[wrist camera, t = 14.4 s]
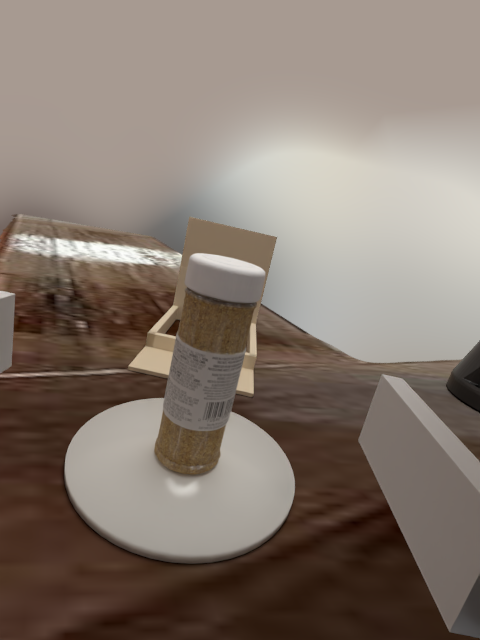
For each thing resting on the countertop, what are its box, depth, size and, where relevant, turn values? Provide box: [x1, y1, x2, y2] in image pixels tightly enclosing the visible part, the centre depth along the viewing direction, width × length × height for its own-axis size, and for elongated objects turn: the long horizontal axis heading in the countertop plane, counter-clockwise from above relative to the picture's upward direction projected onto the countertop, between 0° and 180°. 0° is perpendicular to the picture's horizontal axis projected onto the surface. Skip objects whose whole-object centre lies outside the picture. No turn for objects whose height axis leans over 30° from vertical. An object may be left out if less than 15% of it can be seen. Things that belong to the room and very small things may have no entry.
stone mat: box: [64, 398, 295, 564], centre depth 25 cm, size 15×15×1 cm
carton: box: [128, 217, 277, 397], centre depth 44 cm, size 21×13×15 cm, turn 178°
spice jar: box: [154, 253, 265, 475], centre depth 23 cm, size 5×5×14 cm
